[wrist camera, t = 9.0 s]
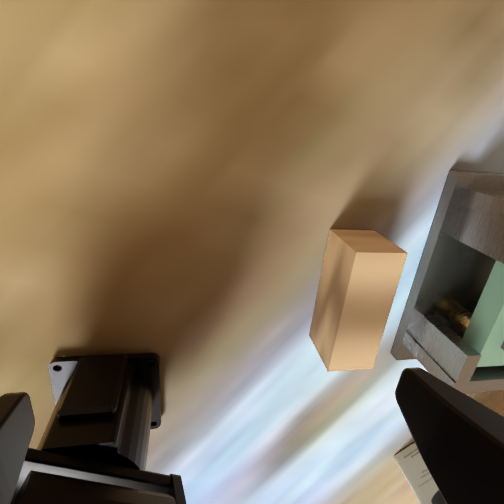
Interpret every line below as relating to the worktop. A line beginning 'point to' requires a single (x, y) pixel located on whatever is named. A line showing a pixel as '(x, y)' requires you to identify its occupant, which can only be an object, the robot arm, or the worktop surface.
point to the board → (489, 321)
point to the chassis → (455, 282)
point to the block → (355, 297)
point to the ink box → (418, 476)
